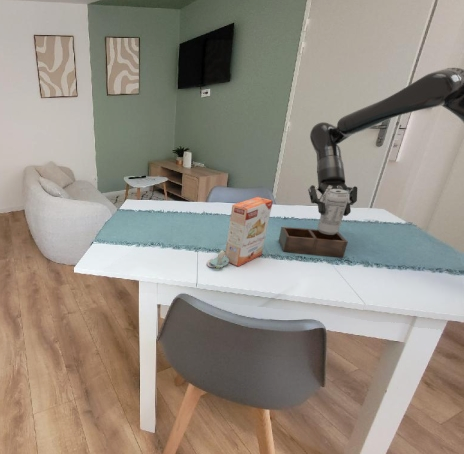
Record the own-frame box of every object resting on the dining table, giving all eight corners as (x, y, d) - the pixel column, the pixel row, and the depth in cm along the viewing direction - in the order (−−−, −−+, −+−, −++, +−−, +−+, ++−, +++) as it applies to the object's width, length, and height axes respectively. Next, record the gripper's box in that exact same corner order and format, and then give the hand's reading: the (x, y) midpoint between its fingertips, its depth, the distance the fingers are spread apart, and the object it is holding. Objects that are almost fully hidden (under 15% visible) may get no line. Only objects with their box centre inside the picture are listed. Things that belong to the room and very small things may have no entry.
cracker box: (238, 267, 97) (248, 209, 89) (223, 260, 102) (230, 204, 94) (263, 255, 104) (273, 199, 95) (247, 249, 108) (256, 195, 100)
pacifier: (202, 266, 100) (218, 272, 95) (203, 249, 97) (220, 255, 93) (214, 258, 104) (230, 264, 99) (215, 242, 101) (232, 248, 97)
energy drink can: (339, 231, 102) (351, 190, 96) (335, 236, 99) (348, 194, 93) (319, 226, 106) (329, 187, 100) (314, 232, 103) (325, 191, 97)
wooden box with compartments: (333, 245, 108) (337, 231, 105) (343, 257, 100) (348, 242, 97) (278, 240, 114) (281, 226, 111) (283, 251, 105) (286, 237, 103)
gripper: (311, 165, 102) (314, 208, 97) (360, 166, 98) (366, 210, 93) (303, 176, 109) (305, 217, 104) (349, 177, 105) (354, 220, 99)
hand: (334, 214), depth 98 cm, fingers closed on energy drink can, 6 cm apart
